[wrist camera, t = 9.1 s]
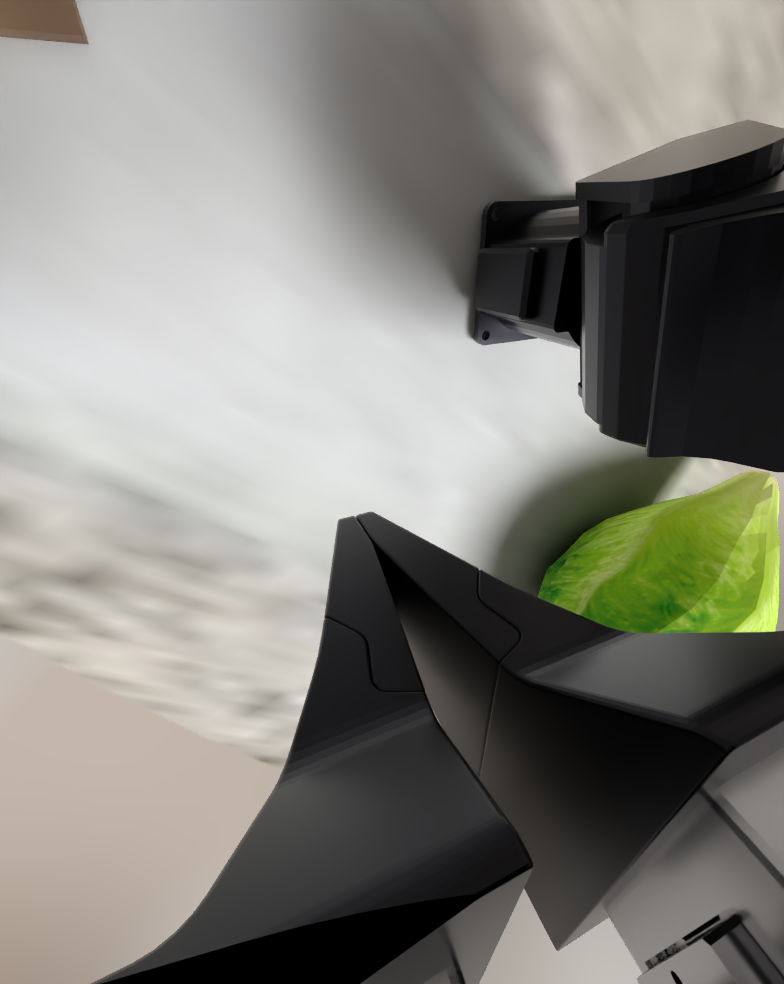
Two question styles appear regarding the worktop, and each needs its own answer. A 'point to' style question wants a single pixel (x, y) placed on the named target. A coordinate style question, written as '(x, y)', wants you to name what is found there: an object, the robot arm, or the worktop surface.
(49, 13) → the walnut board
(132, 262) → the worktop surface
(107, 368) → the worktop surface
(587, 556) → the lettuce
